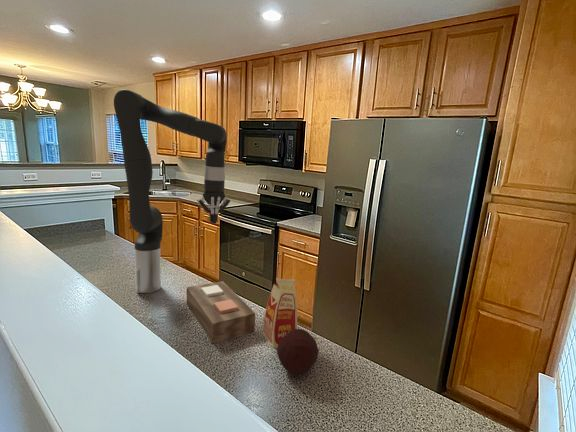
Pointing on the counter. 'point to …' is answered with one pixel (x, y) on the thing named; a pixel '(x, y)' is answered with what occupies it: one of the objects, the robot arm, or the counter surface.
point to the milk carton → (280, 311)
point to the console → (216, 323)
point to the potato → (297, 352)
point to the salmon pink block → (225, 306)
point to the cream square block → (211, 291)
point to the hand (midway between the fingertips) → (213, 223)
